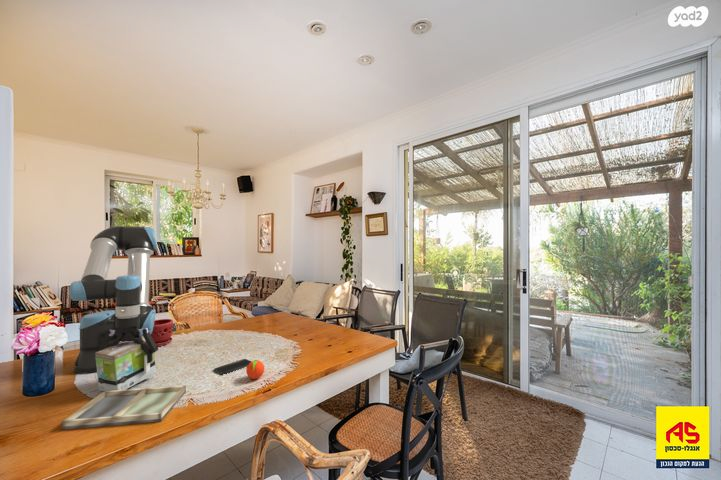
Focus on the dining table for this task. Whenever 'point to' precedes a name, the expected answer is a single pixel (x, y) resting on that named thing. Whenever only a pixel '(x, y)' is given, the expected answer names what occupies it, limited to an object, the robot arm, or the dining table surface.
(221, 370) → the phone
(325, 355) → the dining table surface
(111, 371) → the tea box
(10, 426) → the dining table surface
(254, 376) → the clementine
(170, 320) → the plant pot
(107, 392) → the organiser
